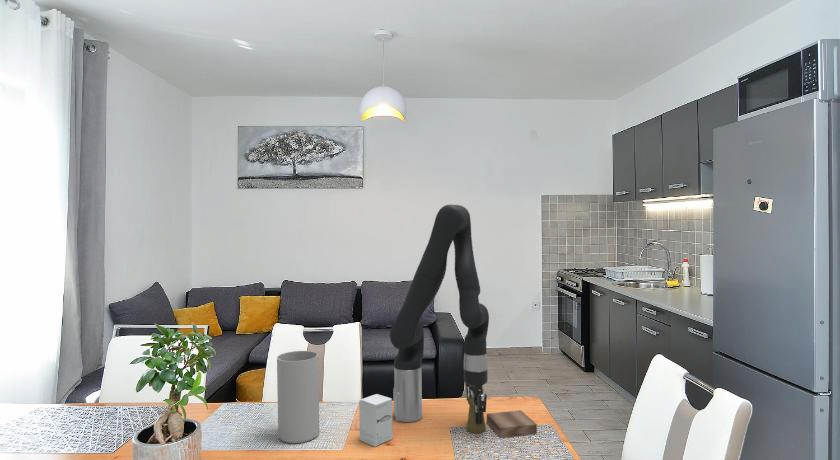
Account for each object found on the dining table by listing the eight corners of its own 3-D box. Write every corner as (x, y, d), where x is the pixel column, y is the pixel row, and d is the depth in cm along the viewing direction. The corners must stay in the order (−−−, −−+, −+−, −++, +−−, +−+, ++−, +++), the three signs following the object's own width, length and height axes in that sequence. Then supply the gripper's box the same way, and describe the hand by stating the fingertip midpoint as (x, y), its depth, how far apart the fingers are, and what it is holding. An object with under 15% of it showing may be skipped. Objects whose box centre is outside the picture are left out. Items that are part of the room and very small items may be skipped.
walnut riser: (500, 437, 156) (500, 428, 155) (486, 422, 167) (486, 413, 167) (536, 433, 158) (536, 424, 158) (520, 419, 170) (520, 410, 170)
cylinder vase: (327, 431, 162) (326, 353, 162) (302, 447, 151) (301, 363, 150) (295, 425, 167) (294, 349, 167) (269, 440, 156) (268, 358, 156)
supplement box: (375, 447, 150) (374, 404, 150) (358, 440, 155) (358, 399, 155) (393, 439, 155) (392, 398, 155) (377, 432, 161) (376, 392, 160)
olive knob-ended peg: (485, 433, 159) (484, 398, 158) (465, 432, 160) (465, 397, 160) (486, 426, 165) (486, 392, 164) (467, 424, 166) (467, 391, 166)
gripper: (457, 362, 168) (458, 413, 168) (471, 374, 154) (472, 430, 154) (479, 360, 170) (479, 411, 170) (494, 372, 156) (495, 427, 156)
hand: (476, 419), depth 162 cm, fingers open, 5 cm apart
